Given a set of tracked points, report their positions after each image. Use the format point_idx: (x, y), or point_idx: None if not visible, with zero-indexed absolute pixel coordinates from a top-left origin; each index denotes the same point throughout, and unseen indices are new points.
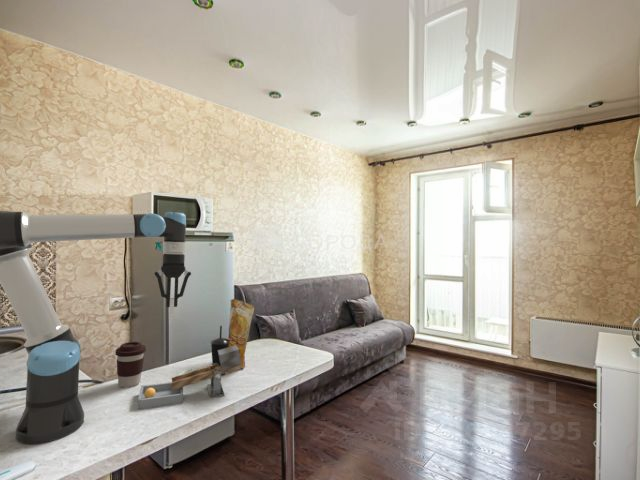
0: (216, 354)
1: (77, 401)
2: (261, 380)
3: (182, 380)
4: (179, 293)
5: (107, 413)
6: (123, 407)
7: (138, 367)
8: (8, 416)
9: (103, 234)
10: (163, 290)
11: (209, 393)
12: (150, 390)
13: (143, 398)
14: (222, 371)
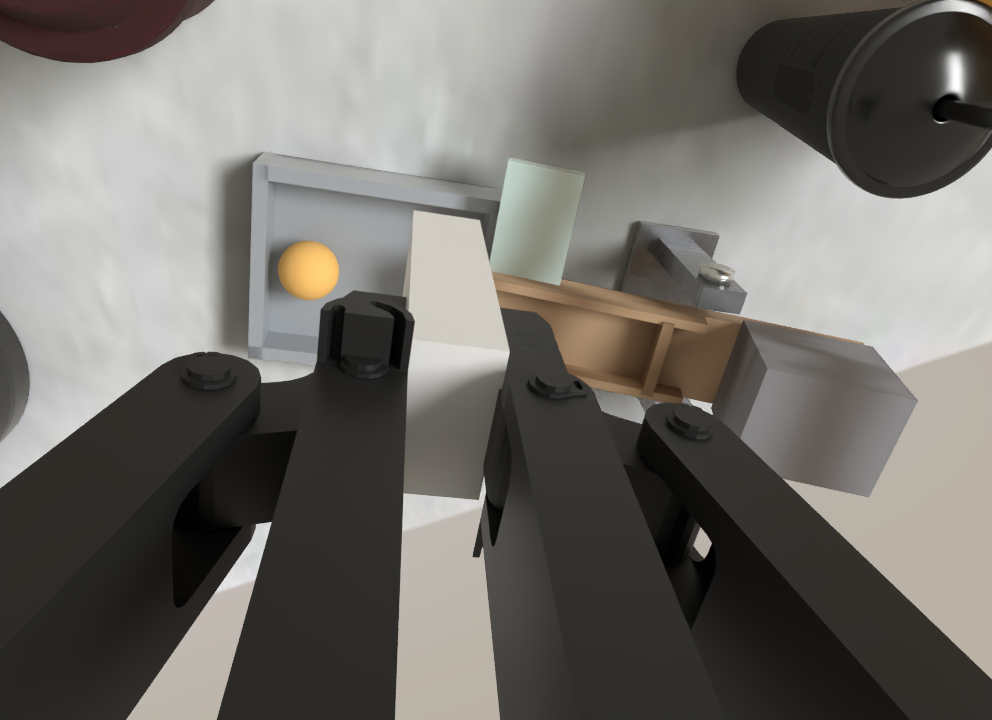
0: (810, 145)
1: None
2: (926, 290)
3: None
4: (639, 489)
5: (118, 317)
6: (186, 287)
7: (196, 11)
8: None
9: None
10: (167, 645)
11: None
12: (308, 296)
13: (280, 248)
14: (712, 401)
